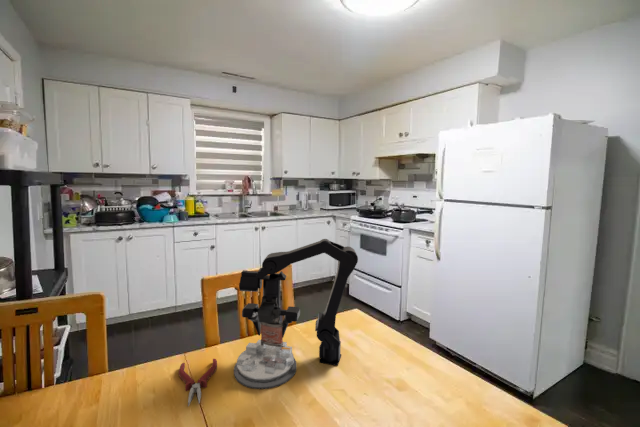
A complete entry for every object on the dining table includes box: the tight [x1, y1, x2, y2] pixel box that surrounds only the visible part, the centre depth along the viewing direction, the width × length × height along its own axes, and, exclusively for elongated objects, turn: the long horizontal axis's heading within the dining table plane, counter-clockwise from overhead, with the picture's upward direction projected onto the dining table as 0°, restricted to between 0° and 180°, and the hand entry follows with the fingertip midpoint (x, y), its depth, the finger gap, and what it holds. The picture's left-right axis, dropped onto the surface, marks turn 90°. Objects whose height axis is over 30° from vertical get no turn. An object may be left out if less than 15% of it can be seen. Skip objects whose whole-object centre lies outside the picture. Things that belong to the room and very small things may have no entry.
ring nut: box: [236, 339, 295, 382], centre depth 102 cm, size 18×18×4 cm
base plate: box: [233, 357, 298, 390], centre depth 103 cm, size 20×20×1 cm
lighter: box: [260, 316, 284, 347], centre depth 108 cm, size 8×3×10 cm, turn 72°
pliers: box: [178, 358, 218, 407], centre depth 95 cm, size 12×20×3 cm, turn 17°
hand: (271, 336), depth 108 cm, fingers closed on lighter, 8 cm apart
